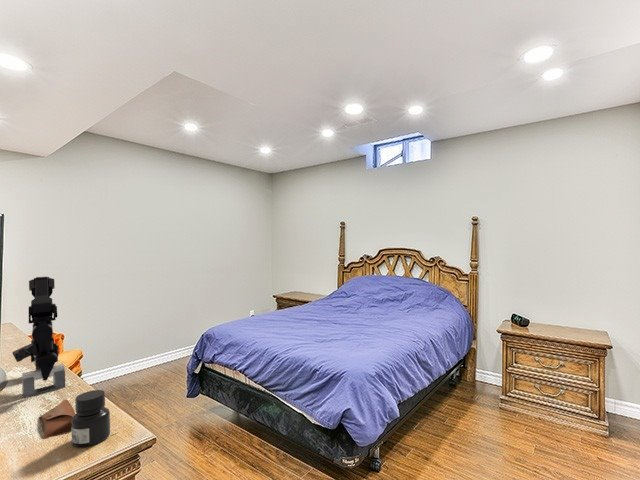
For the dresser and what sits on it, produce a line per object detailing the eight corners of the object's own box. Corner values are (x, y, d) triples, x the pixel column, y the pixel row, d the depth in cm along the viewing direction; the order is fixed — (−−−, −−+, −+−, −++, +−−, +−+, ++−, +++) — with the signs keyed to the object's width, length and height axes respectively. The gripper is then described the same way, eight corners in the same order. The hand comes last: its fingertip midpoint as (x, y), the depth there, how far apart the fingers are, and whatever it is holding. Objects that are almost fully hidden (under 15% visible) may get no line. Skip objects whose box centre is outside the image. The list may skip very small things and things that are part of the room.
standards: (22, 394, 127) (22, 376, 127) (63, 383, 135) (62, 367, 135) (23, 397, 123) (23, 380, 123) (65, 387, 132) (64, 370, 132)
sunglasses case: (36, 417, 109) (49, 395, 111) (60, 421, 113) (73, 400, 116) (43, 440, 96) (57, 414, 98) (70, 443, 100) (83, 419, 102)
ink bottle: (67, 439, 96) (66, 395, 96) (103, 426, 103) (102, 385, 103) (77, 453, 90) (76, 406, 90) (115, 438, 96) (114, 394, 96)
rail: (22, 380, 126) (22, 373, 126) (63, 371, 134) (63, 364, 134) (23, 383, 124) (22, 375, 124) (64, 373, 132) (64, 365, 132)
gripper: (11, 336, 130) (13, 377, 130) (16, 345, 117) (17, 392, 117) (49, 330, 138) (50, 369, 138) (57, 338, 125) (58, 382, 125)
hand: (44, 378), depth 129 cm, fingers open, 6 cm apart
